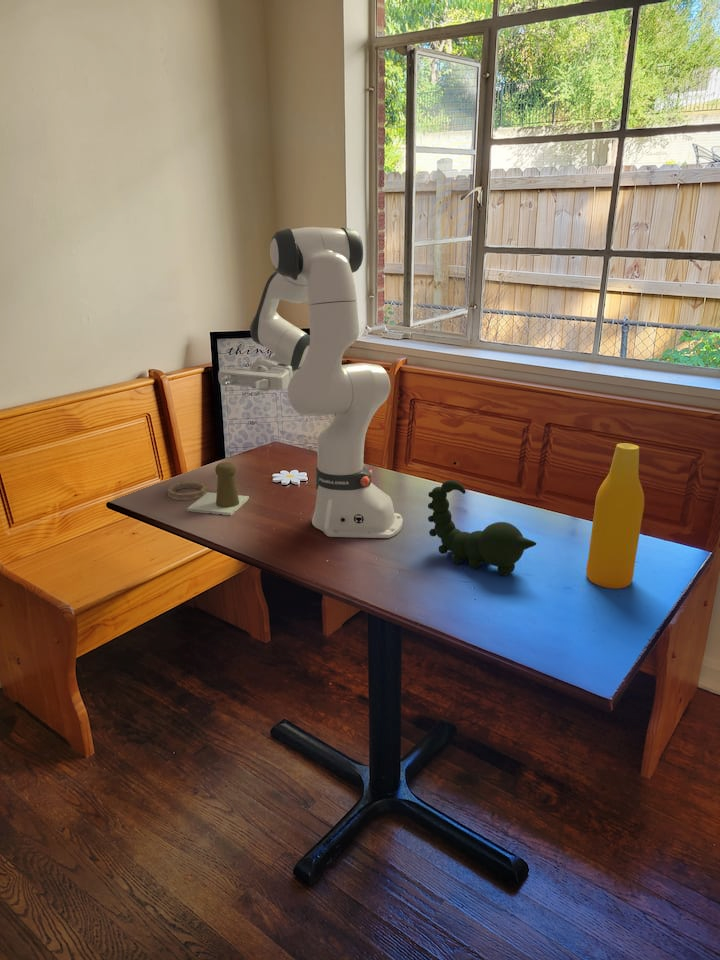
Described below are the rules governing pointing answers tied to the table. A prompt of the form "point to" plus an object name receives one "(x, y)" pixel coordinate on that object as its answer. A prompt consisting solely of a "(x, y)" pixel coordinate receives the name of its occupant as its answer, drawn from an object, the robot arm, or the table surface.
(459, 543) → the toy figurine
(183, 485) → the ring
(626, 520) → the beer bottle
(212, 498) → the ceramic tile
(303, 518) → the table surface
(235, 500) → the cork
